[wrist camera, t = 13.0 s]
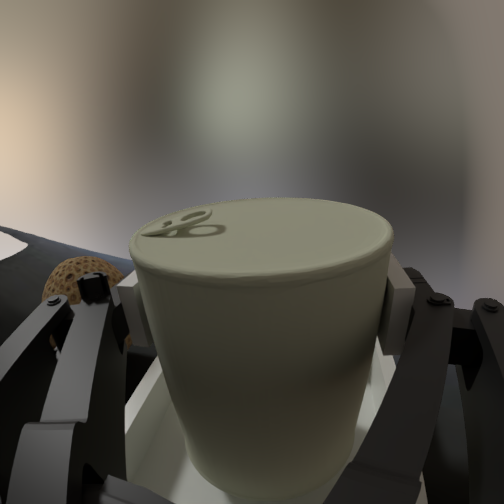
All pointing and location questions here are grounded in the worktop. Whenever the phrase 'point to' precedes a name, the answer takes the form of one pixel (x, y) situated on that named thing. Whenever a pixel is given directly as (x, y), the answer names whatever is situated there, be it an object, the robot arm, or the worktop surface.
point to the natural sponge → (66, 283)
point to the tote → (175, 454)
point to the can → (265, 334)
